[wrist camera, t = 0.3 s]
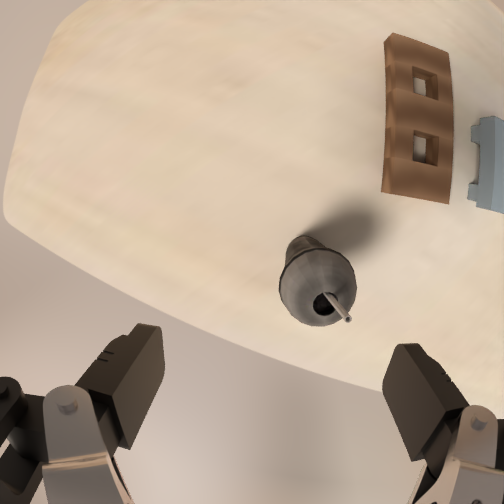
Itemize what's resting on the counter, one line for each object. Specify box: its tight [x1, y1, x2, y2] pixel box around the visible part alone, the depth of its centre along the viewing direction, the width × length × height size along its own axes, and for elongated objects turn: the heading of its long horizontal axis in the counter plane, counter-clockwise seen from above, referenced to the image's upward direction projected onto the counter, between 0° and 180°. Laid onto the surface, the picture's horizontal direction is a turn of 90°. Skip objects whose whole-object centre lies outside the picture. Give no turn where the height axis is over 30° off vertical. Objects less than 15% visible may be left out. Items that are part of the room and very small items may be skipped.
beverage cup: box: [279, 236, 357, 326], centre depth 28 cm, size 7×7×20 cm
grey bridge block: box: [468, 116, 504, 214], centre depth 29 cm, size 13×4×6 cm, turn 176°
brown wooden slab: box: [381, 33, 454, 204], centre depth 30 cm, size 22×9×4 cm, turn 176°
